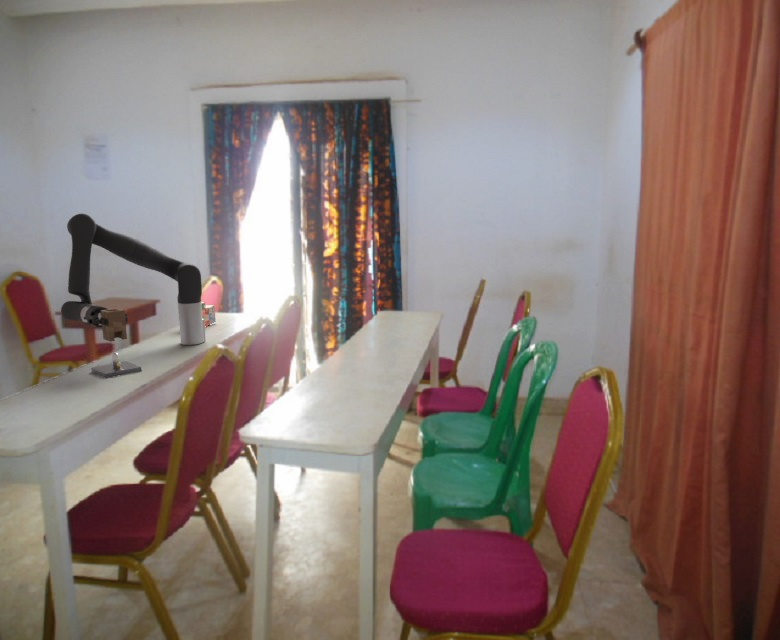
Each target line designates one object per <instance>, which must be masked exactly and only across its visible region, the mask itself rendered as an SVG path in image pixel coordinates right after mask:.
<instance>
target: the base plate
mask: <svg viewBox="0 0 780 640" xmlns="http://www.w3.org/2000/svg"><path fill="white" fill-rule="evenodd" d="M111 359H112V363H110V364H104V365H97V366H94V367H93V366H91V367H90V370H91V373H93V372H94V373H93V374H95V373H96V375H97V374H98V376H99V377H102V376H103V377H102V378H104V377H105V378H104V379H109V378H108V377H110V378H113V376H115V377H118V375H120V376H125V375H129V374H134V373H138V371H139V372H142V366H141V365H137V364H134V363H132V362H131V361H130V362H129V361H125V360H124V361H119V353H118V352H112V354H111Z"/></svg>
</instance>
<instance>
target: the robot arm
mask: <svg viewBox="0 0 780 640" xmlns="http://www.w3.org/2000/svg"><path fill="white" fill-rule="evenodd" d="M66 225H67V226H66V228H67V233H69V235H71V246H72V247H71V258H70V264H69V269H68V281H67V282H68V283H67V285H68V287H67V291H68V293H69V294H70V295H73V296H77V297H79V298H80V300H81V301H77V300H75V301H74V300H69V301H67V300H66V302H63V304H62V305H61V308H60V313H61V315H62V317H63V318H64V319H65V320H67V321H73V322H81V323H83V324H84V325H87V326H92V327H95V328H102V325H105V326H108V319H105V318H102V317H101V310H108V309H109V308H108V307H107V306H106V307H105V306H102V305H98V304H93V303H92V297H91V293H90V280H91V255H92V247H93V245H94V246H98V247H100V248H103V249H104V250H106V251H107V252H109V253H112V254H114V255H116V256H117V257H119V258H121V259H123V260H125V261H128V262H129V263H132V264H135V265H137V266H140V267H142V268H145V269H148V270H152V271H155V272H158V273H161V274H163V275H165V276H167V277H169V278H170V279H172V280H173V281H176V282H177V288H178V289H177V290H178V292H177V293H178V294H177V297H176V298H177V309H178V310H177V311H178V322H179V324H178V325H179V336H180V339H179V340H180V344H181V345H183V346H184V345H185V346H186V345H187V346H189V345H190V346H191V345H192V346H193V345H199V344H202V343H204V342H206V328H205V325H204V319H202V307H201V302H202V296H203V294H202V292H203V290H202V289H203V288H202V275H201V273H202V272H201V271H200V268H199V267H198V266H196V265H194V264H191V263H188V262H184V261H183V260H182V261H181V260H178V259H176V258H173V257H170V256H168V255H166V254H165V253H164V252H162V251H160V250H159V249H157V248H155V247H153V246H152V245H150V244H148V243H147V242H144V241H142V240H140V239H138V238H135V237H133V236H130V235H126V234H124V233H119V232H115V231H113V230H110V229H108V228H105V227H103V226H102V225H100V224H98V223H96V221H95V220H94V217H92V216H91V215H90V214H87V213H78V214H75V215H73V216H72V217H71V218H70V219H69V220H68V221H67V224H66ZM125 321H126V324H127V323H128V321H129V318H128V313H127V312H125Z"/></svg>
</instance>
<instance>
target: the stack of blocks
mask: <svg viewBox="0 0 780 640" xmlns="http://www.w3.org/2000/svg"><path fill="white" fill-rule="evenodd" d="M201 307H202V319H204V325H205V326H208V325H210V324H212V323H214V322H216V312H215V309H216V308H215V305H213V304H212V305H210V304H209V305H207V304H206V302H204V301H201Z"/></svg>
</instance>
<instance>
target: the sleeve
mask: <svg viewBox="0 0 780 640" xmlns="http://www.w3.org/2000/svg"><path fill="white" fill-rule="evenodd" d="M125 313H126V310H125V309H122V308H116V307H115V308H108V310H101V317H102V318H105V319H108V326H105V325H102V329H101V330H102V339H103V340H104V341H107V342H110V343H111V342H115V341H116V339H117V338H118V339H121V340H127V339H128V335H127V323H126V321H125Z"/></svg>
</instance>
